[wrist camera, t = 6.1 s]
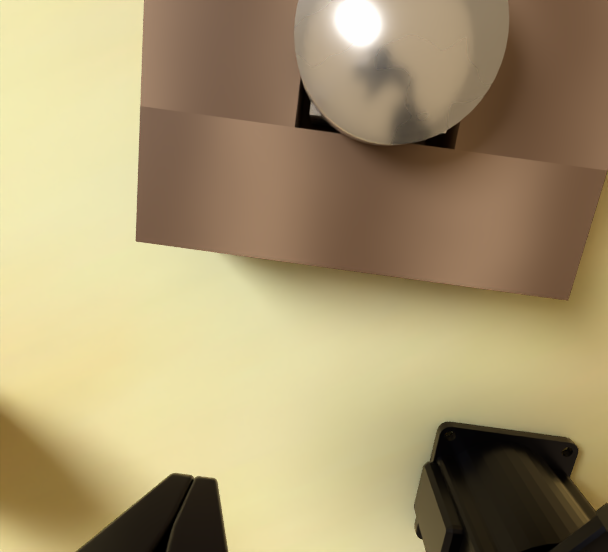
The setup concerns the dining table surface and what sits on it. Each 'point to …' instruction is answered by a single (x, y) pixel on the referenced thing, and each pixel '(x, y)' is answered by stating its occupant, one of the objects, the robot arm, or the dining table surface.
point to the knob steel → (397, 63)
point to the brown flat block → (373, 154)
